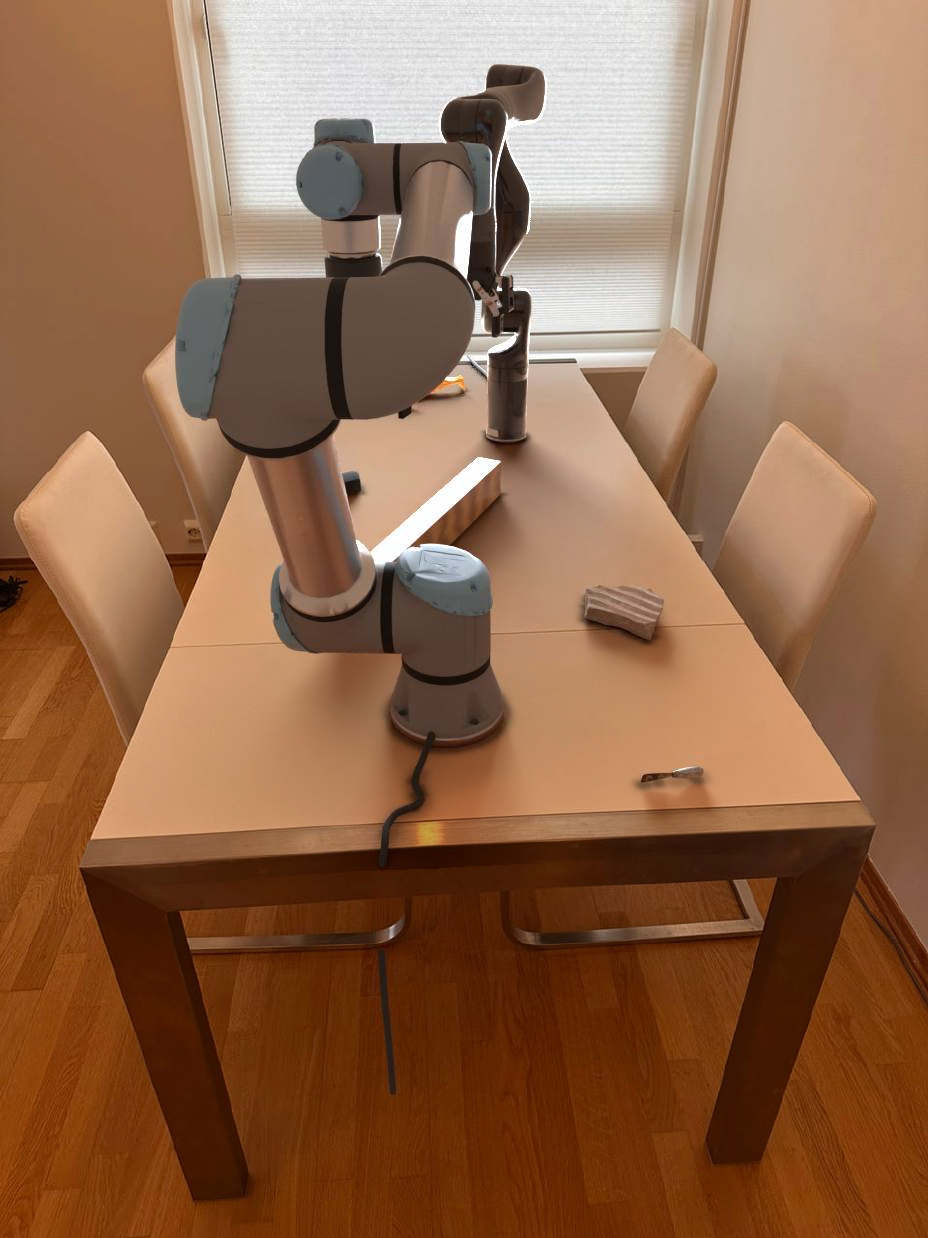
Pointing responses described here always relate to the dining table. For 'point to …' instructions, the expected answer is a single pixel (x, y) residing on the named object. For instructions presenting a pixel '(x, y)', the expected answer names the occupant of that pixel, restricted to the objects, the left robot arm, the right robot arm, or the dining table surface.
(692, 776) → the putty knife
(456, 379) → the human figure
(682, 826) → the dining table surface
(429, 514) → the post
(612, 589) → the stone
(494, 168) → the right robot arm
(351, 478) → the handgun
